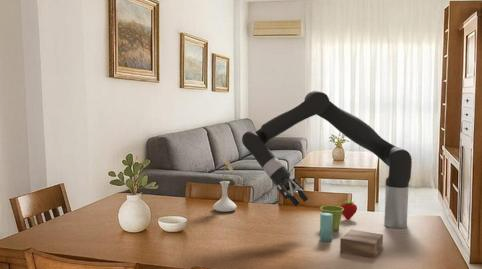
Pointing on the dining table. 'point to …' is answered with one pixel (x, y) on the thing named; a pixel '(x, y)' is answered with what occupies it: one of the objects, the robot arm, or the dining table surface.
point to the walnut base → (361, 243)
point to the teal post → (326, 227)
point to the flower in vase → (225, 194)
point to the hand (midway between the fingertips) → (302, 202)
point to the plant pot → (334, 215)
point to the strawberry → (348, 209)
